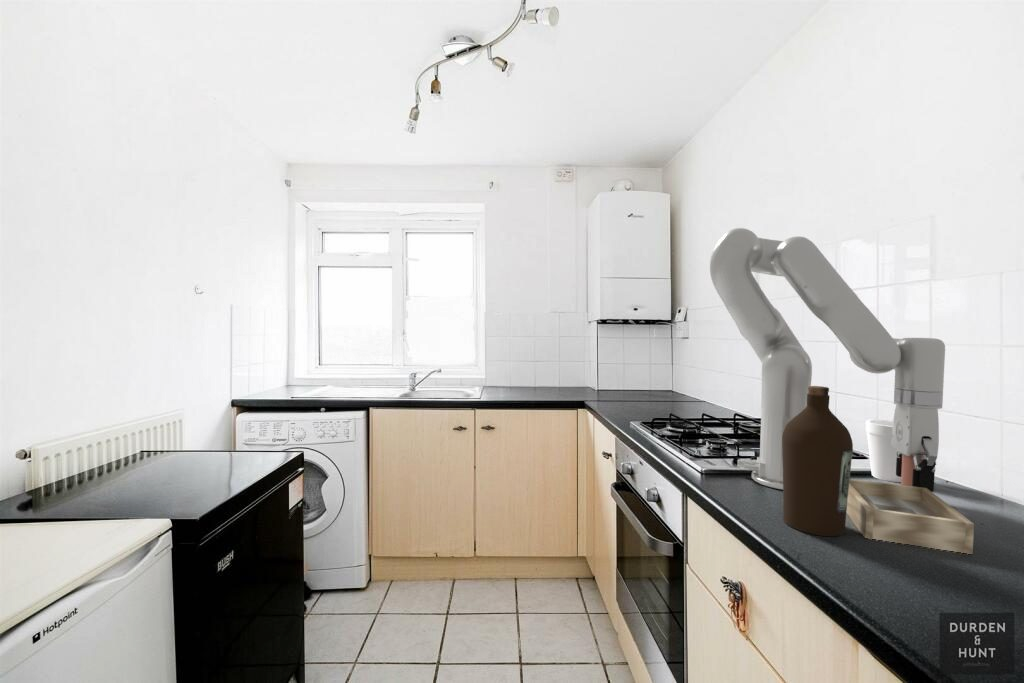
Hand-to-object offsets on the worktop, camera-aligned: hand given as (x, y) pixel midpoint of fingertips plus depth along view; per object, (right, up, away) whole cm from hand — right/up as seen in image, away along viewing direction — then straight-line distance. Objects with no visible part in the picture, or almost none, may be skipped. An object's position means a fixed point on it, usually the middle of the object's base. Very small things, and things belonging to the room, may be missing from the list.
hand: (913, 483), depth 97 cm
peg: (0, -4, 0) cm, 4 cm away
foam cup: (+8, -4, +16) cm, 19 cm away
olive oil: (-28, -4, -12) cm, 30 cm away
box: (-12, -4, -11) cm, 17 cm away
